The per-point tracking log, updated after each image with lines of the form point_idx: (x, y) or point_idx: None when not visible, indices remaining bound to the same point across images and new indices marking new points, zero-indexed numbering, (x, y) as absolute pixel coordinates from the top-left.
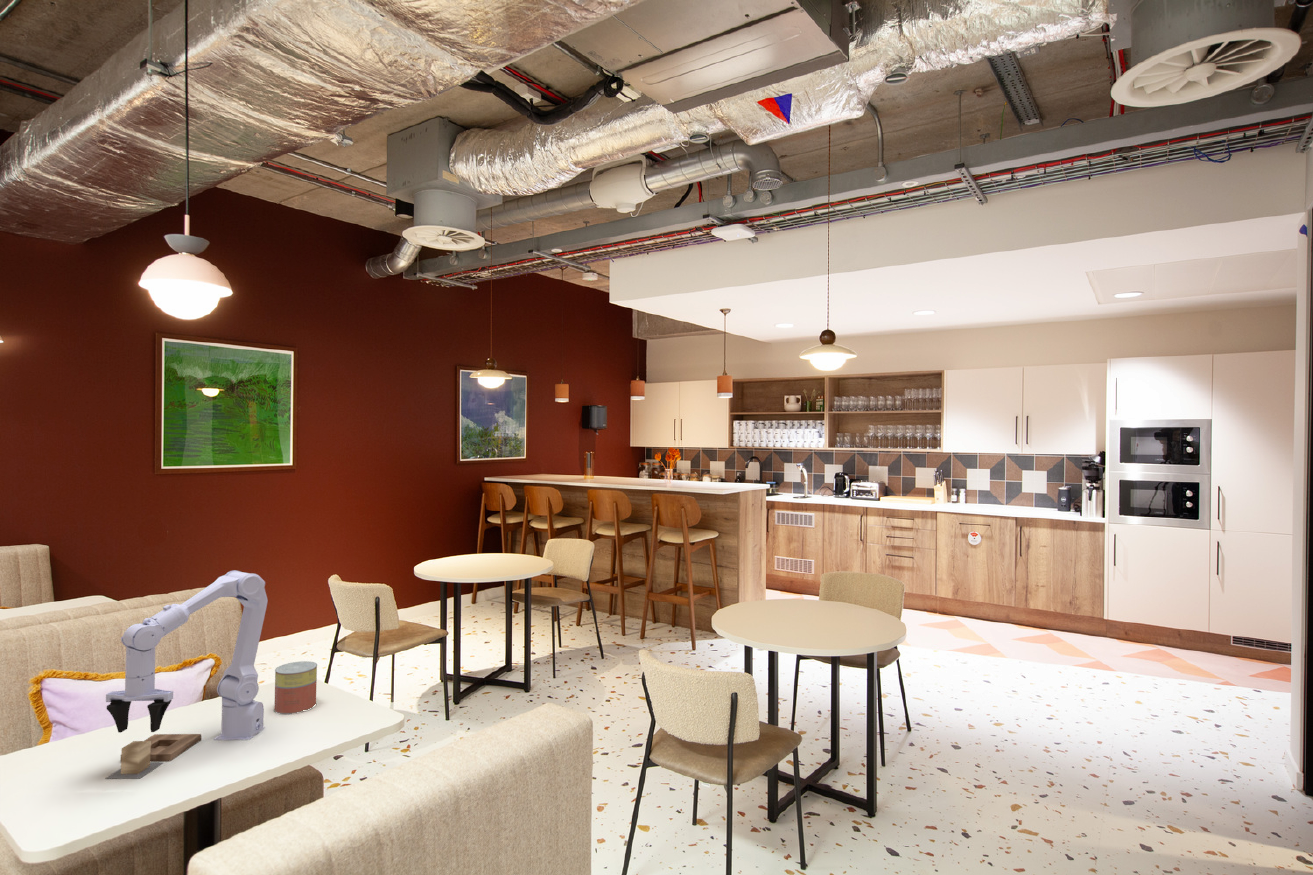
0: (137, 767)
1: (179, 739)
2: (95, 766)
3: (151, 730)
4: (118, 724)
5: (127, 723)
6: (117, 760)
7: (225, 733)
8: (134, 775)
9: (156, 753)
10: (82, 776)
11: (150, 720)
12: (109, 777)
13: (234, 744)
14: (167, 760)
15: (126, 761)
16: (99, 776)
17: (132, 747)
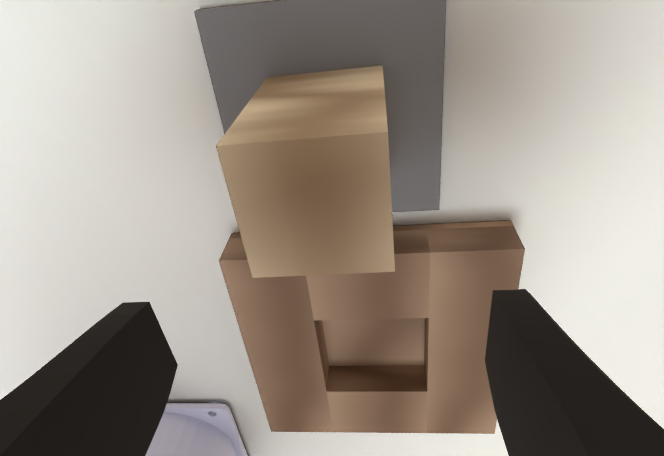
0: (264, 87)
1: (326, 392)
2: (641, 174)
3: (132, 312)
4: (549, 360)
5: (500, 417)
6: (548, 244)
7: (173, 433)
8: (269, 48)
9: None
10: (655, 35)
11: (43, 413)
12: (422, 3)
13: None
14: None
15: (341, 93)
16: (527, 44)
17: (295, 157)
